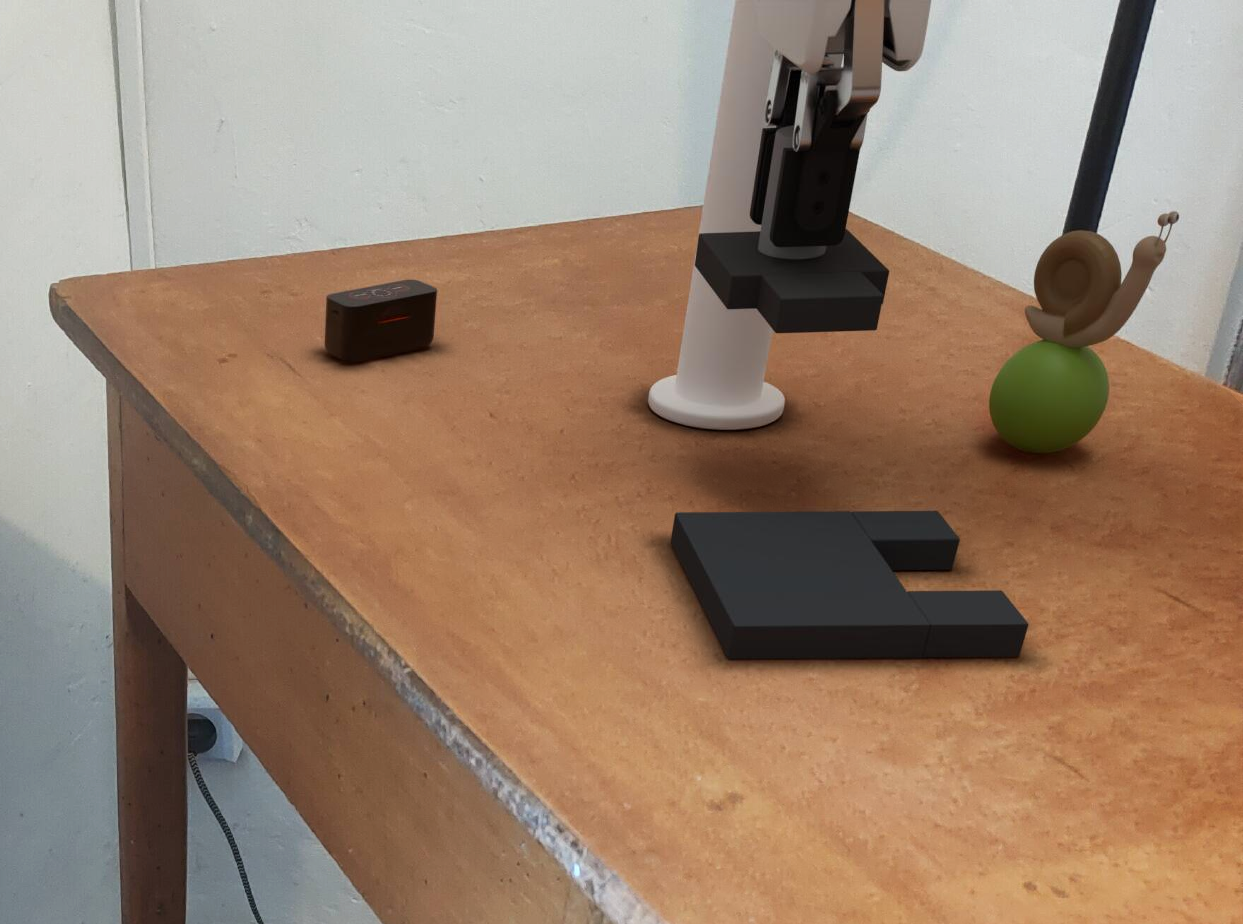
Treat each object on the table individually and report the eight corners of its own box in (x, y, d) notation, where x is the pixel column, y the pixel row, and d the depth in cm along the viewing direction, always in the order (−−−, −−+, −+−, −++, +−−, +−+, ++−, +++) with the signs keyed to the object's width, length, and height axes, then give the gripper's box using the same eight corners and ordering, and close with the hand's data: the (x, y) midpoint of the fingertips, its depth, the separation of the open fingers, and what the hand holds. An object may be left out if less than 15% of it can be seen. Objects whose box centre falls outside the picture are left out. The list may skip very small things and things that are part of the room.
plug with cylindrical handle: (694, 266, 90) (714, 117, 86) (840, 261, 90) (868, 111, 86) (745, 334, 82) (770, 173, 78) (907, 329, 82) (941, 168, 78)
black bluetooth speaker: (448, 346, 110) (453, 288, 108) (346, 367, 107) (349, 308, 105) (402, 325, 113) (406, 268, 111) (302, 345, 110) (304, 287, 108)
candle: (721, 440, 97) (822, -132, 82) (620, 404, 102) (696, -145, 86) (810, 411, 101) (923, -145, 85) (708, 377, 105) (797, -157, 89)
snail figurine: (1062, 484, 92) (1139, 223, 85) (954, 445, 96) (1018, 193, 89) (1130, 460, 95) (1211, 204, 87) (1022, 423, 99) (1090, 176, 91)
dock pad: (930, 541, 87) (938, 509, 86) (1019, 657, 78) (1029, 623, 77) (669, 543, 87) (675, 511, 86) (727, 659, 78) (734, 625, 77)
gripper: (1045, -248, 68) (932, 282, 80) (910, -275, 81) (829, 186, 93) (836, -240, 68) (754, 288, 80) (734, -268, 81) (675, 191, 93)
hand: (795, 229), depth 86 cm, fingers closed on plug with cylindrical handle, 3 cm apart
